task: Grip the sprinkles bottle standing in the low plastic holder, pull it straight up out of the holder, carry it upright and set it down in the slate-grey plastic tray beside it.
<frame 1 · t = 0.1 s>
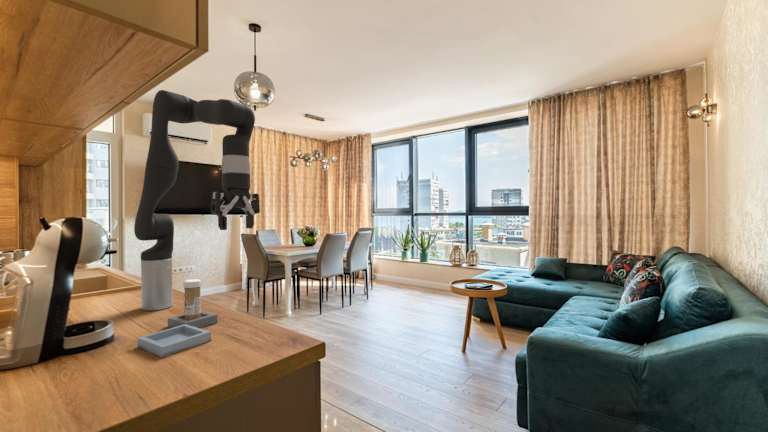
hand: (236, 229, 99), 29 cm above the kitchen counter, tool pointing down, fingers open, 8 cm apart
tray: (175, 343, 89), on the kitchen counter
holder: (192, 324, 104), on the kitchen counter
sprinkles bottle: (192, 325, 104), resting in holder
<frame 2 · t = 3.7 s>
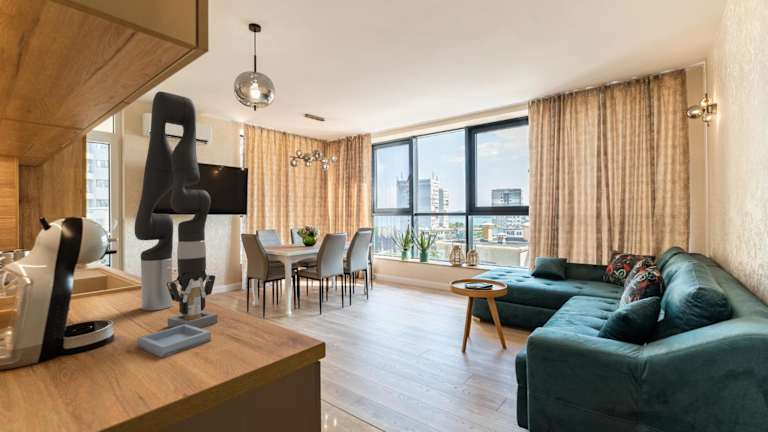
hand: (192, 311, 104), 4 cm above the kitchen counter, tool pointing down, fingers closed on sprinkles bottle, 4 cm apart
sprinkles bottle: (192, 325, 104), resting in holder, touching gripper
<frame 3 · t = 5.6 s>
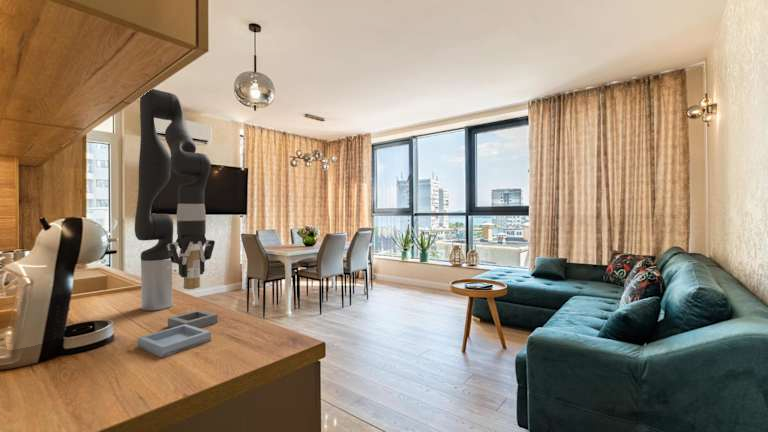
hand: (191, 275, 104), 15 cm above the kitchen counter, tool pointing down, fingers closed on sprinkles bottle, 4 cm apart
sprinkles bottle: (192, 288, 104), point 11 cm above the kitchen counter, touching gripper
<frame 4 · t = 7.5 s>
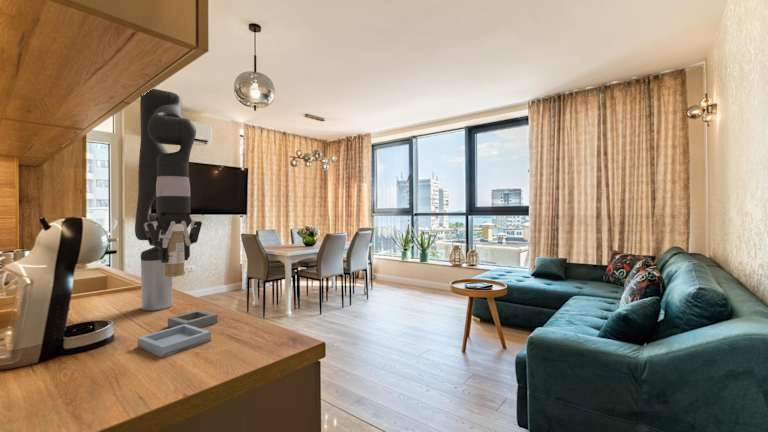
hand: (174, 261, 89), 21 cm above the kitchen counter, tool pointing down, fingers closed on sprinkles bottle, 4 cm apart
sprinkles bottle: (175, 276, 89), point 17 cm above the kitchen counter, touching gripper
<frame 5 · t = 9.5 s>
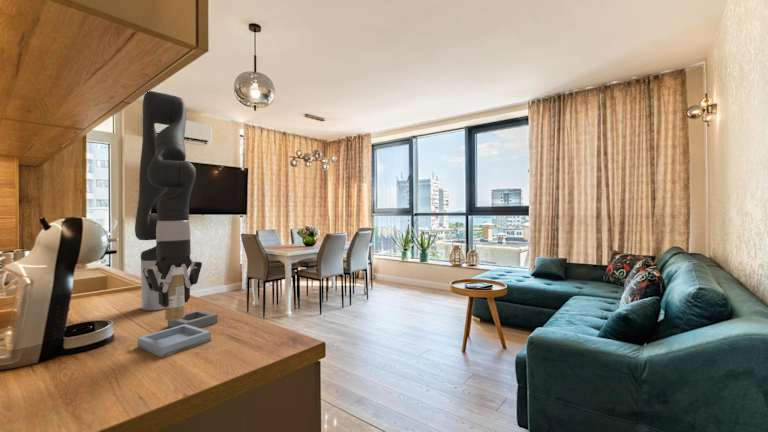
hand: (174, 303, 89), 10 cm above the kitchen counter, tool pointing down, fingers closed on sprinkles bottle, 4 cm apart
sprinkles bottle: (175, 319, 89), point 6 cm above the kitchen counter, touching gripper
when the fingers open (5 cm above the kitchen counter, at t = 11.3 s): sprinkles bottle stays where it is, resting on tray.
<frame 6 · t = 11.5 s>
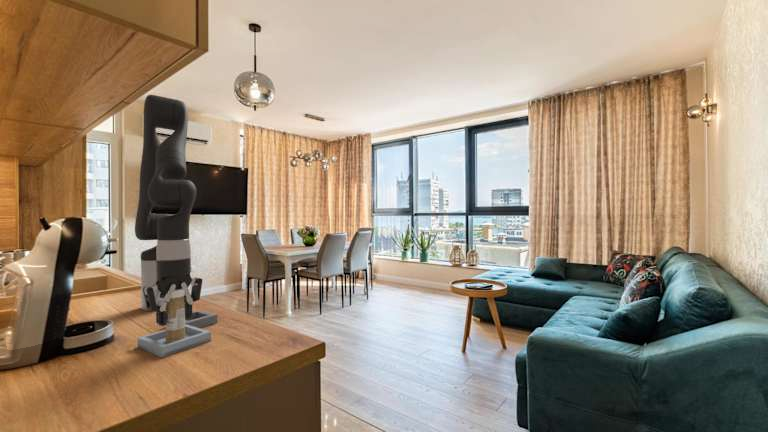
hand: (174, 321, 89), 6 cm above the kitchen counter, tool pointing down, fingers open, 5 cm apart
sprinkles bottle: (175, 341, 90), point 1 cm above the kitchen counter, touching tray
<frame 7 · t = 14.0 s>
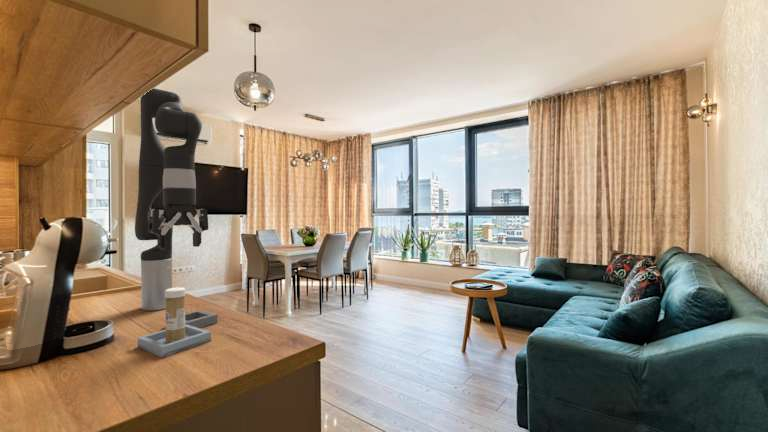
hand: (180, 248, 92), 25 cm above the kitchen counter, tool pointing down, fingers open, 8 cm apart
nothing on the kitchen counter moved.
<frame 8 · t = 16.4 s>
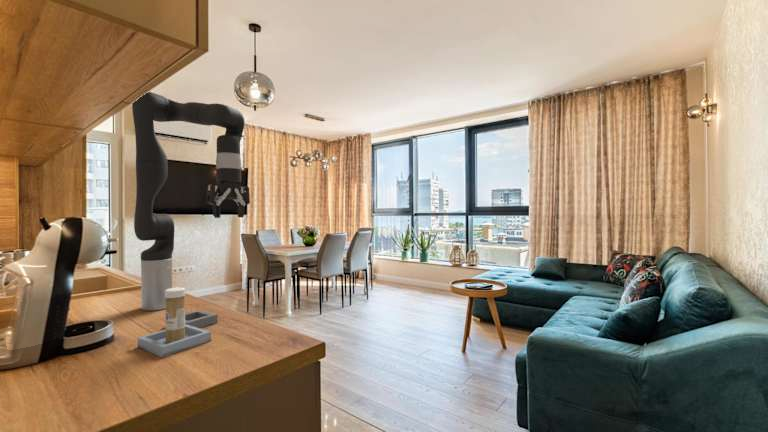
hand: (229, 217, 114), 32 cm above the kitchen counter, tool pointing down, fingers open, 8 cm apart
nothing on the kitchen counter moved.
at the end: sprinkles bottle 0.2 cm off-centre on the tray, point 0.6 cm above the tray's base; sprinkles bottle tilted 0°; the gripper is holding nothing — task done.
